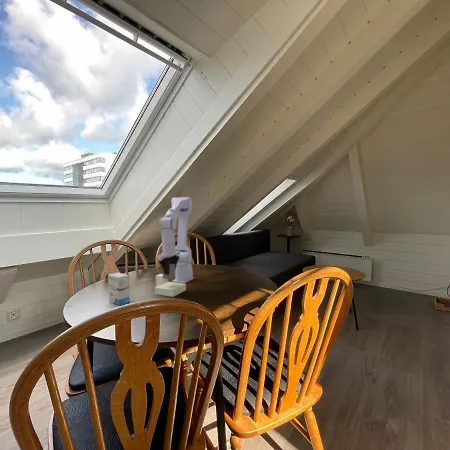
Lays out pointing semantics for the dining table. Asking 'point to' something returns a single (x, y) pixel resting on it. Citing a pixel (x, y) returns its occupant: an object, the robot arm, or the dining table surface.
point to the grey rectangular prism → (170, 272)
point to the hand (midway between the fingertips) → (169, 273)
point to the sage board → (170, 289)
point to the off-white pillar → (160, 280)
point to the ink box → (118, 288)
